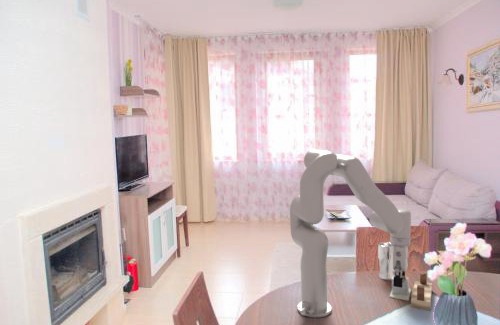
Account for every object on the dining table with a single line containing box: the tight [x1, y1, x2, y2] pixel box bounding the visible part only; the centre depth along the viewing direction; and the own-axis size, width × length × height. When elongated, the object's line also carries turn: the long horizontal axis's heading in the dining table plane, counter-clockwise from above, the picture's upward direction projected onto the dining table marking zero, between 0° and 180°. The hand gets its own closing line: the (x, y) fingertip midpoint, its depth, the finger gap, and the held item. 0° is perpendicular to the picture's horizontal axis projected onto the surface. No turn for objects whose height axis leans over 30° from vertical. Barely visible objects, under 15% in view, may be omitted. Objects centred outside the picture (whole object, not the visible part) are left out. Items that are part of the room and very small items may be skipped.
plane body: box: [410, 272, 433, 311], centre depth 151 cm, size 18×6×8 cm, turn 153°
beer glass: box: [377, 241, 394, 281], centre depth 172 cm, size 7×7×15 cm
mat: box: [389, 288, 412, 301], centre depth 156 cm, size 10×7×1 cm
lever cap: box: [391, 274, 410, 296], centre depth 155 cm, size 4×6×7 cm
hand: (399, 282), depth 155 cm, fingers open, 9 cm apart
